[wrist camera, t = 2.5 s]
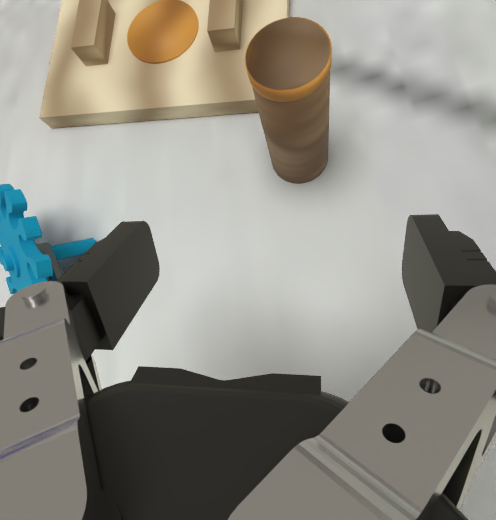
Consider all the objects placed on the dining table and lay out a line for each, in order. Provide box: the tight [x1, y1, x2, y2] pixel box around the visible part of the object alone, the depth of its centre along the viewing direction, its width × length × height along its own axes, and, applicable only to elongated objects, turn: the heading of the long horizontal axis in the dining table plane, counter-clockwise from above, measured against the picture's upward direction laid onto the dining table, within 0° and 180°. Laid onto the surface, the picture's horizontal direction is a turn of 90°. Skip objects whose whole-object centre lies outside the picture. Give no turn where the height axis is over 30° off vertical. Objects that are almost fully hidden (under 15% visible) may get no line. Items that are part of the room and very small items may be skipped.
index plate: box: [39, 0, 289, 128], centre depth 31 cm, size 20×14×4 cm
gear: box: [0, 184, 96, 294], centre depth 27 cm, size 11×6×10 cm
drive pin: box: [245, 17, 332, 183], centre depth 23 cm, size 4×4×10 cm
